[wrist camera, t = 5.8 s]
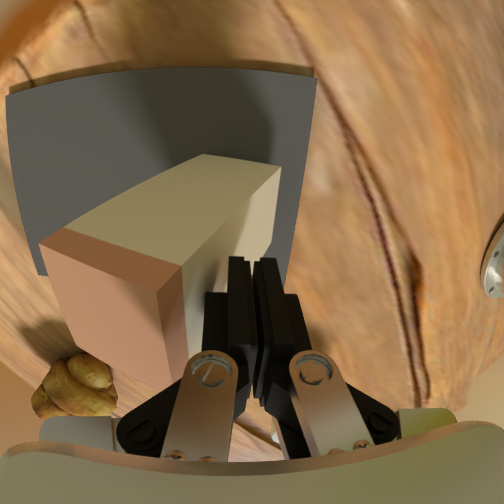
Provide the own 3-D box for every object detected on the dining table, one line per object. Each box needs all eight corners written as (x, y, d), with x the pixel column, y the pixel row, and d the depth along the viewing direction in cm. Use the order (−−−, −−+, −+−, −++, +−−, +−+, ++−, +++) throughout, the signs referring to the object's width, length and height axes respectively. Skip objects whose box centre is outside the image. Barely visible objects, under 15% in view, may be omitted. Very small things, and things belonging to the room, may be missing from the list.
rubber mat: (314, 78, 16) (317, 78, 15) (282, 285, 24) (283, 290, 24) (10, 94, 14) (5, 95, 13) (41, 271, 22) (38, 275, 22)
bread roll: (77, 332, 27) (53, 393, 20) (145, 378, 31) (134, 437, 24) (41, 365, 30) (23, 411, 24) (96, 400, 35) (84, 446, 28)
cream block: (281, 166, 16) (156, 292, 7) (271, 242, 19) (176, 398, 9) (202, 153, 18) (38, 243, 8) (200, 225, 20) (76, 345, 10)
